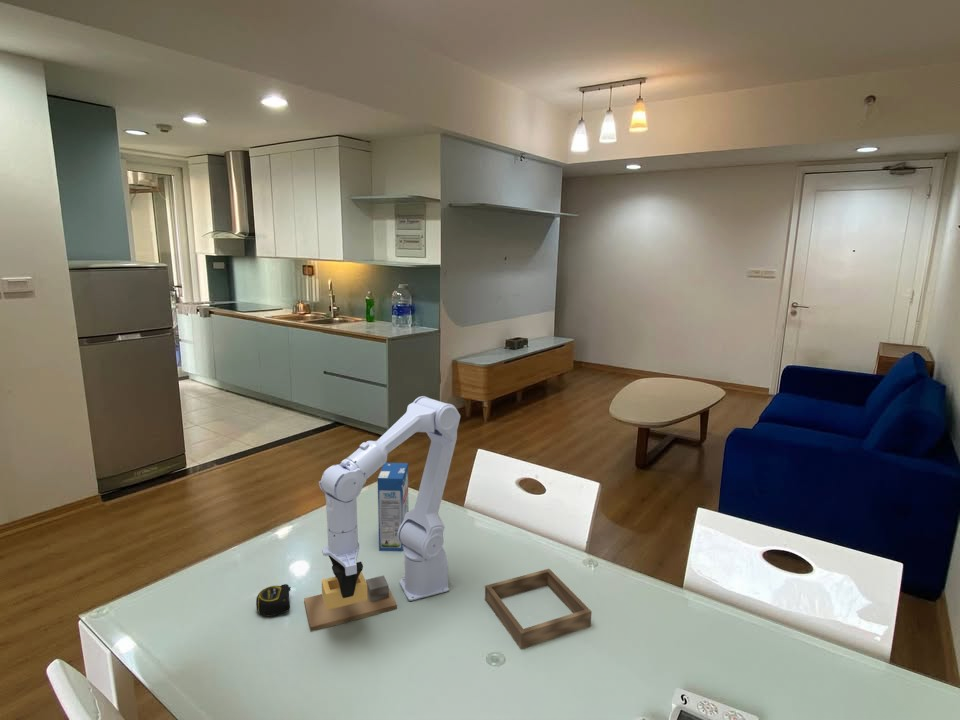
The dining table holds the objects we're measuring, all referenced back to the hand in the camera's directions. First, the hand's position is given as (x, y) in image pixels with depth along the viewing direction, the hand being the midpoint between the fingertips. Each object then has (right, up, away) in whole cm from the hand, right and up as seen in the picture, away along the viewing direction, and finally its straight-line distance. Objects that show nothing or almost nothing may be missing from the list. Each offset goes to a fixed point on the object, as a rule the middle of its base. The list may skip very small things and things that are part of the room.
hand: (345, 587), depth 108 cm
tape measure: (-17, -8, +8) cm, 20 cm away
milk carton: (+4, -3, +35) cm, 36 cm away
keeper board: (-1, -8, +9) cm, 12 cm away
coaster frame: (+39, -9, +8) cm, 41 cm away
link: (0, -2, 0) cm, 2 cm away
